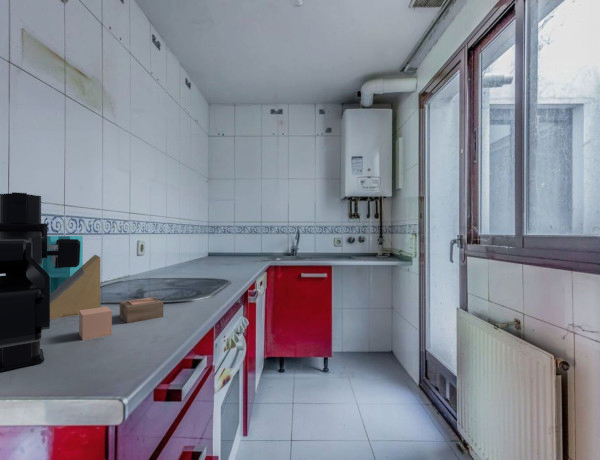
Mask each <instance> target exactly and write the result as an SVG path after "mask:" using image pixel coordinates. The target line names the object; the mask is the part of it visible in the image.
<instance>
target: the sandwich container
mask: <svg viewBox="0 0 600 460" xmlns="http://www.w3.org/2000/svg"><path fill="white" fill-rule="evenodd" d="M100 307H101V256H99V255H96V254H94V255H92V256H91V258H89V259H88V260H87V261H85V263H83V266H82V267H80V268H79V269H78V270H77V271H76V272H75V273H74V274H73V275H72V276H70V277H69V278H68V279H67V280H66V281H65V282H64V283H62V284H61V285H60V286H59V287H58V288H57V289H56V290H55V291H53V292H52V293H51V294H50V320H54V319H59V318H69V317H74V316H79V310H86V309H93V308H100Z"/></svg>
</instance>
